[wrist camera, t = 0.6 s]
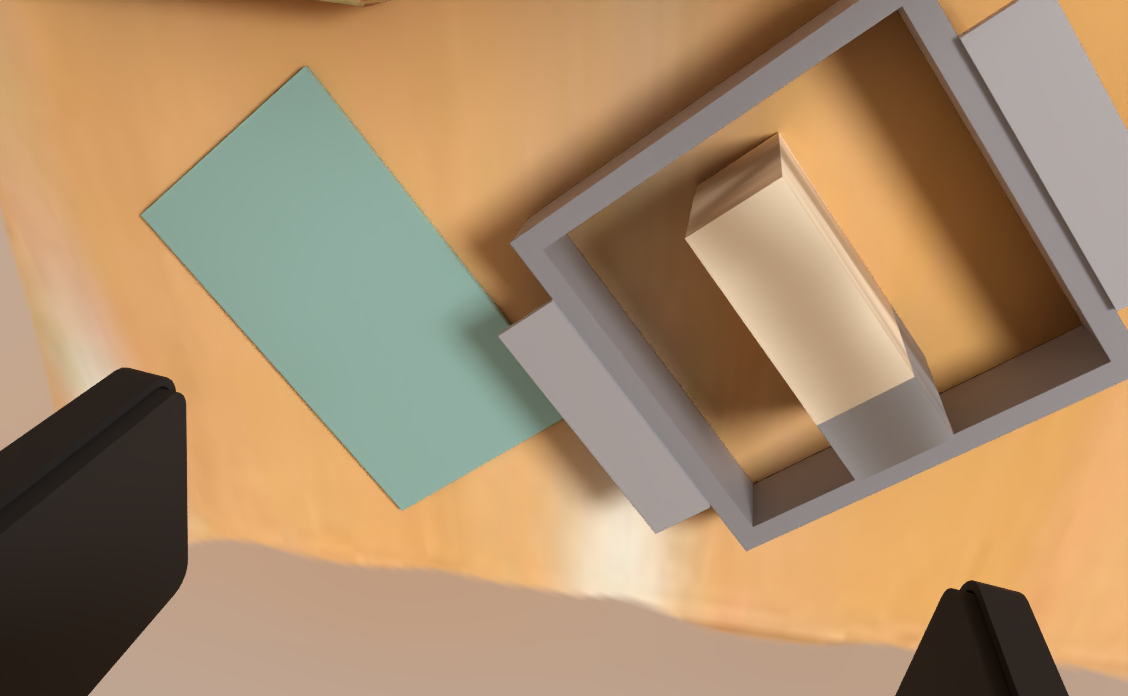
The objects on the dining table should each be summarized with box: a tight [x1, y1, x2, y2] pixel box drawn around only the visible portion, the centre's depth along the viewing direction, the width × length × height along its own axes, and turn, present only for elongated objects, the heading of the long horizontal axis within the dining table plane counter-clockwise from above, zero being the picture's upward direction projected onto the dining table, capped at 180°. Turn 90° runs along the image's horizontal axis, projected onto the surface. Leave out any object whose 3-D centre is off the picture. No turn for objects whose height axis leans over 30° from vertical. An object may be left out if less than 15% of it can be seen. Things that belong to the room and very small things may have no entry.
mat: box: [141, 66, 563, 511], centre depth 44 cm, size 12×20×1 cm, turn 36°
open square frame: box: [498, 0, 1128, 551], centre depth 38 cm, size 24×18×4 cm
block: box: [685, 132, 955, 483], centre depth 36 cm, size 4×12×7 cm, turn 36°
